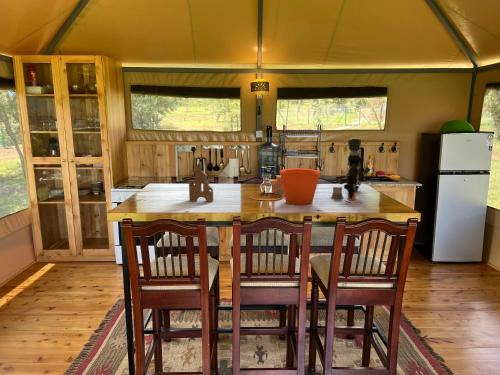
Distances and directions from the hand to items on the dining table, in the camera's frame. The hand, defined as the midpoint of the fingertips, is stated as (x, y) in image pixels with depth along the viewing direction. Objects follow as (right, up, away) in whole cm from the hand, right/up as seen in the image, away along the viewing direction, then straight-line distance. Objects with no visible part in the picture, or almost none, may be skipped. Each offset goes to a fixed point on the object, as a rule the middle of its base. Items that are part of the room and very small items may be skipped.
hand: (351, 197), depth 227 cm
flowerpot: (-36, -3, -9) cm, 37 cm away
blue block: (-8, +3, +4) cm, 10 cm away
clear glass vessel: (-46, +3, +20) cm, 50 cm away
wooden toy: (-97, -2, -6) cm, 97 cm away
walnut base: (-8, 0, +4) cm, 10 cm away
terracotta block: (0, -1, 0) cm, 1 cm away
